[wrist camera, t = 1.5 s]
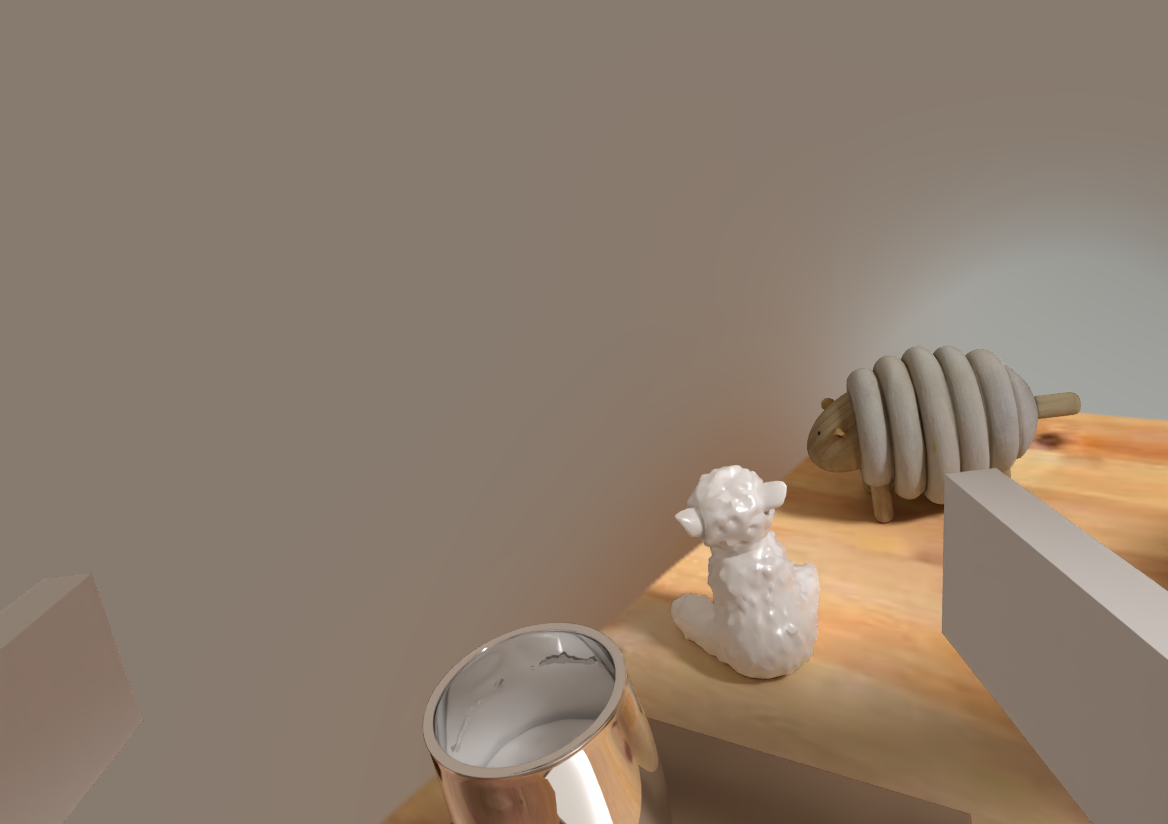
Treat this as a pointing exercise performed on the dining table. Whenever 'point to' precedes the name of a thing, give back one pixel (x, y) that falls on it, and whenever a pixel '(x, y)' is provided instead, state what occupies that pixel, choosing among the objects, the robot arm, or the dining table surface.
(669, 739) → the pocket board
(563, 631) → the silver tumbler
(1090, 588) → the robot arm
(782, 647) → the seated beast figurine
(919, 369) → the toy sheep
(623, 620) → the dining table surface
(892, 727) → the dining table surface
